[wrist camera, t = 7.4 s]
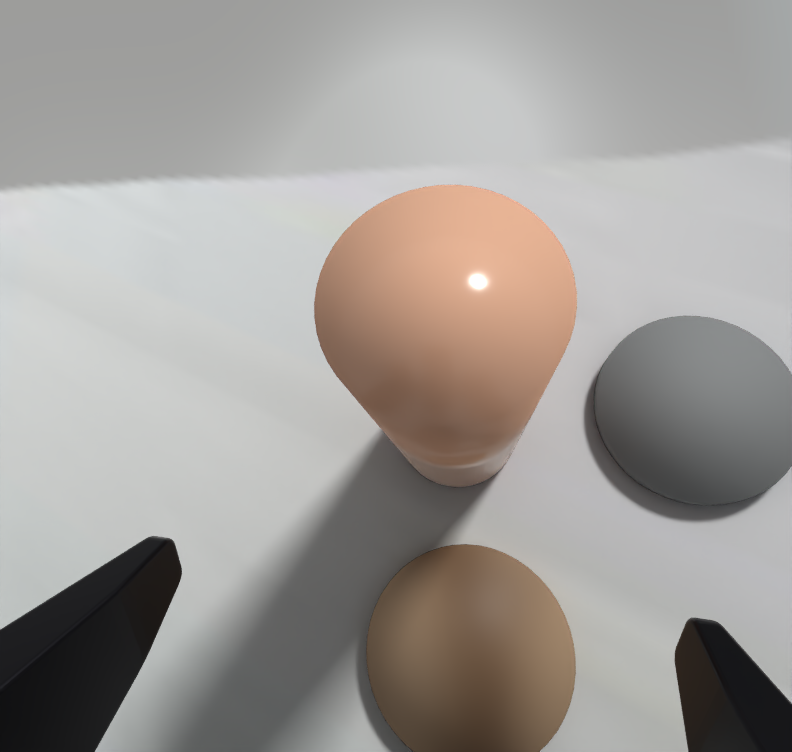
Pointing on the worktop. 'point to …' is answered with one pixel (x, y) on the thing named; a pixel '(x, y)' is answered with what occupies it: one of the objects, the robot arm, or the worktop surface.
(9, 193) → the worktop surface
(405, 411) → the post
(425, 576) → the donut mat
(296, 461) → the worktop surface
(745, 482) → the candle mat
